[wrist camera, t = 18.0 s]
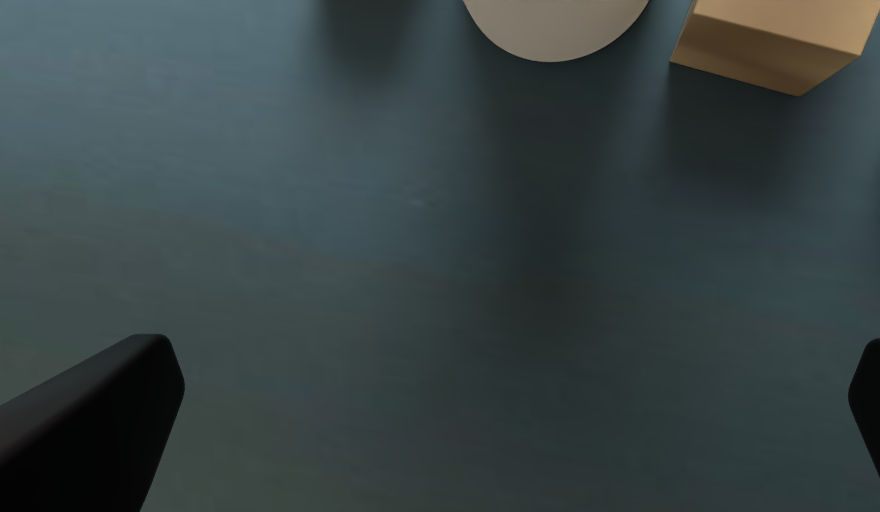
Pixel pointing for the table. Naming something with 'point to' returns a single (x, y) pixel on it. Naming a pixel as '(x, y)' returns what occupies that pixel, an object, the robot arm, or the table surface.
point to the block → (775, 39)
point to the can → (553, 25)
